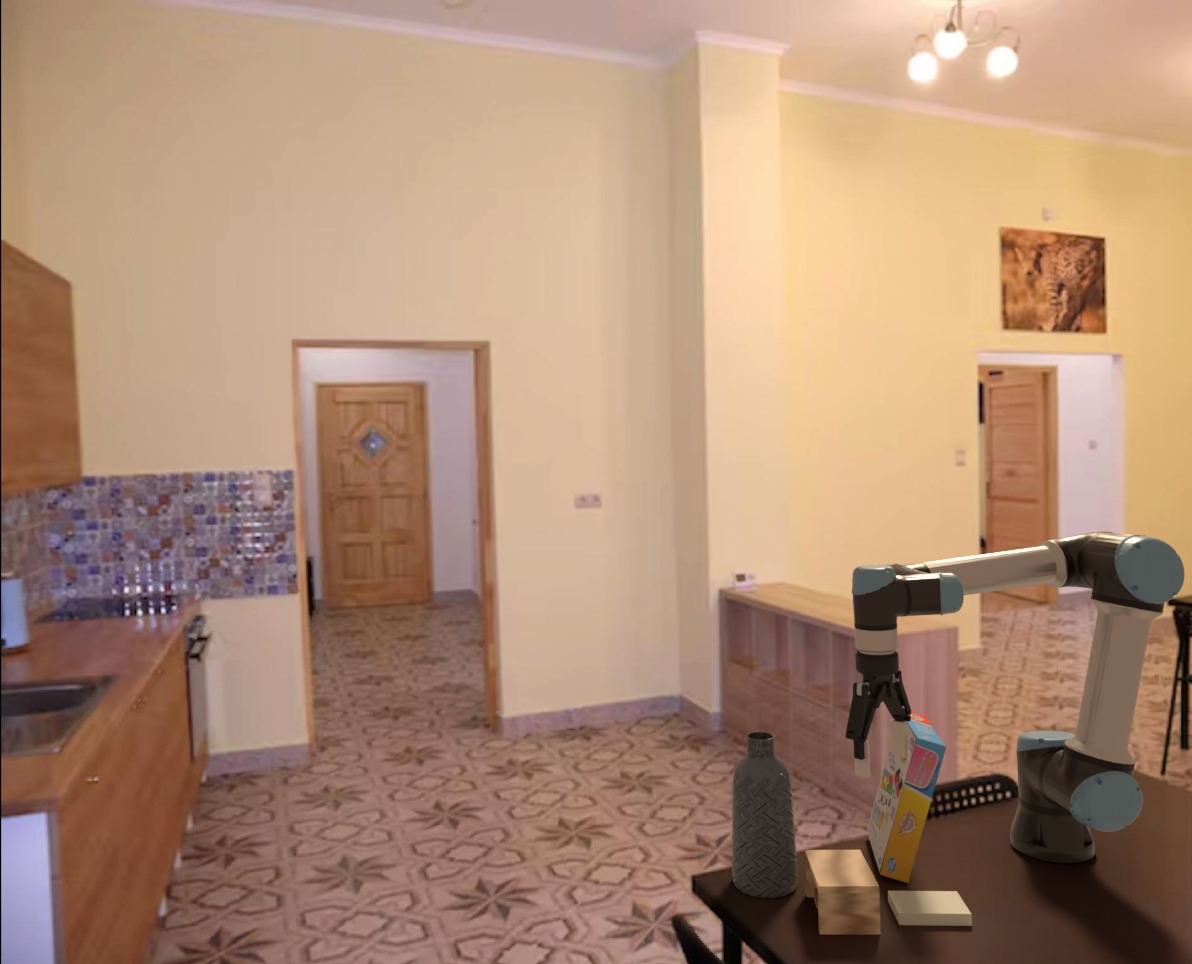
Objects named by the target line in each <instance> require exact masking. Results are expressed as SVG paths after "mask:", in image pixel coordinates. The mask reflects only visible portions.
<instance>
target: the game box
mask: <svg viewBox="0 0 1192 964" xmlns="http://www.w3.org/2000/svg"><path fill="white" fill-rule="evenodd" d="M909 716H911V720H910V722H909V721H905V728H906V751H907V757H900V756H895V755H891V742H889V747H888V750H887V754H886V758H885V761H884V766H883V769H882V773H881V776H880V780H879V784H878V785H877V786H878V788H877V790H876V794H875V797H874V802H873V805H872V808H871V813H870V817H869V820H868V822H867V823H868V824H867V828H866V832H867V836H868V839H869V842H870V846H871V849H872V852H873V857H874V860H875V862H876V865H877V868H878V872H879V874H880V875H881V876H883V877H886V878H889V879H892V880H894V881H898V882H899V881H900V882H902V883H906V884H908V883H909V881H910V878H911V874H912V870H913V867H914V862H915V859H916V855H917V852H918V850H919V845H920V841H921V837H922V836H923V831H924V828H925V825H926V822H927V821H926V820H927V818H928V814H929V810H930V807H931V803H932V800H933V795H934V791H935V789H936V785H937V783H938V782H937V781H938V778H939V775H940V771H941V767H942V763H943V761H944V756H945V754H946V750H947V746H946V745H945V743H944V742H943V740H942V738H941V737H940V736H939V734H938V733H937V731H936V730H935V728H934V727H933V726H932V724H931V722H930V721H929V719H928V718H927V716H926V715H923V714H919V713H918V712H913V711H911V715H909Z"/></svg>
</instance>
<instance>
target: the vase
mask: <svg viewBox="0 0 1192 964" xmlns="http://www.w3.org/2000/svg"><path fill="white" fill-rule="evenodd" d="M731 786H732V787H731V788H732V792H731V796H732V797H731V799H732V800H731V801H732V802H731V803H732V807H731V809H732V811H731V813H732V817H731V819H732V820H731V821H732V823H731V825H732V826H731V827H732V831H731V832H732V833H731V838H732V839H731V841H732V842H731V843H732V844H731V853H732V854H731V859H732V860H731V863H732V865H731V869H732V870H731V874H732V882H733V885H734V886H735V888H736V889H737V890H739V892H742V893H743V894H746V895H749V896H751V897H755V898H764V899H773V898H774V899H775V898H780V897H786V896H787V895H790V894H792V893H793V892H794V891H796V889H797V886H798V882H799V879H798V878H799V875H798V873H799V872H798V863H797V862H798V861H797V860H798V859H797V845H796V833H795V831H796V830H795V818H794V816H795V815H794V805H793V804H794V801H793V790H792V789H793V788H792V787H793V786H792V780H791V775H790V772H789V769H788V767H787V766H786V764H785V763H784V761H782V759H781V758H779V757H778V756H777V755H776V754H775V736H774V734H772V733H769V732H766V731H765V732H764V731H754V732H749V733H748V734H746V754H745V755H744V756H742V758H741V759H739V760H738V762H737V764H736V765H735V768H734V771H733V776H732V785H731Z"/></svg>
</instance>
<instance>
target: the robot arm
mask: <svg viewBox="0 0 1192 964" xmlns="http://www.w3.org/2000/svg"><path fill="white" fill-rule="evenodd" d="M1184 566H1185V565H1184V563H1183V561H1182V559H1181V557H1180V555H1179V554H1178V553H1177V551H1176V550H1175V548H1173V546H1171V545H1170V544H1169V543H1167V542H1166V541H1164V540H1161V539H1158V538H1154V537H1151V536H1147V535H1142V534H1128V533H1120V532H1118V533H1117V532H1113V531H1112V532H1111V531H1093V532H1086V533H1081V534H1076V535H1070V536H1066V537H1060V538H1055V539H1048V540H1044V541H1042V542H1041V544H1040V545H1039V546H1034V547H1033V546H1032V547H1026V548H1019V549H1012V550H1006V551H1004V550H1003V551H997V552H996V551H995V552H991V553H990V552H989V553H983V554H975V555H974V554H973V555H969V556H961V557H960V556H959V557H953V558H946V559H939V560H932V561H931V560H930V561H924V562H919V563H917V562H915V563H910V564H909V563H908V564H902V565H901V564H899V563H889V564H867V565H866V564H865V565H858V566H856V567H855V568H854V569H853V571H852V581H851V582H852V584H851V585H852V587H851V594H852V604H853V605H852V607H853V620H854V622H853V626H854V631H853V635H854V643H855V644H854V645H855V646H854V647H855V649H857V650H856V651H855V657H854V658H855V670H856V671H857V672H858V673H860V674H861V675H862V682H861V683H859V682H853V684H852V699H851V703H850V709H849V713H848V714H849V715H848V719H847V725H846V730H845V738H846V739H848V740H852V741H853V758H854V759H853V760H854V776H858V777H863V778H867V779H870V778H871V777H872V773H871V772H872V771H871V769H872V768H871V767H872V766H871V750H870V749H871V748H870V746H871V745H870V740H868V739H867V738H868V735H869V733H870V729H871V726H872V723H873V719H874V716H875V713H876V709H878V708H880V705H881V703H883V704H884V705H885V707H886V709H887V711H888V713H889V714H890V716H891V717H892V719H890V720H889V731H890V732H889V733H890V743H891V755H895V756H900V757H907V751H906V728H905V721H909V722H910V720H911V716H909V715H911V712H912V709H911V705H910V703H909V699H908V695H907V693H906V690H905V689H906V688H905V686H904V683H903V676H902V675H903V674H902V671H901V670H900V665H899V663H900V662H899V661H900V660H899V659H900V658H899V653H898V652H897V650H898V649H899V640H898V617H901V618H902V617H904V618H905V617H915V616H933V615H934V616H937V615H938V616H939V615H940V616H943V615H948V614H955V613H958V612H959V611H960V610H962V608H963V604H964V601H965V597H964V596H968V595H969V596H971V595H977V594H978V595H979V594H984V593H991V592H992V593H993V592H999V591H1005V590H1012V589H1013V590H1014V589H1021V588H1028V587H1036V586H1042V585H1043V586H1044V585H1048V586H1049V587H1051V588H1054V589H1058V588H1059V589H1060V588H1067V587H1068V588H1069V587H1071V588H1072V587H1074V588H1083V589H1084V588H1085V589H1091V590H1092V591H1091V596H1090V601H1091V603H1092V604H1093V605H1094V607H1095V608H1096V610H1097V615H1096V621H1095V626H1094V631H1093V636H1092V642H1091V647H1090V654H1089V658H1088V664H1087V670H1086V675H1085V680H1084V687H1083V689H1082V690H1083V692H1082V697H1081V702H1080V709H1079V712H1078V713H1079V714H1078V719H1077V723H1076V724H1077V725H1076V729H1075V733H1073V732H1067V731H1058V730H1057V731H1056V730H1033V731H1026V732H1023V733H1021V734H1020V735H1018V737H1017V742H1016V750H1015V751H1016V752H1015V753H1016V754H1017V755H1016V759H1017V762H1016V763H1017V764H1016V766H1017V784H1018V785H1017V788H1018V789H1017V791H1018V806H1017V809H1016V812H1015V815H1014V818H1013V820H1012V822H1011V827H1010V829H1009V830H1010V831H1009V836H1010V837H1009V839H1010V841H1009V842H1010V844H1011V847H1013V849H1015V850H1016V851H1018V853H1019V852H1020V853H1021V854H1023V855H1025V856H1028V857H1030V858H1033V859H1037V860H1041V861H1045V862H1050V863H1057V864H1058V863H1059V864H1077V863H1079V864H1080V863H1085V862H1087V861H1090V860H1092V859H1093V858H1094V856H1095V853H1096V852H1095V851H1096V849H1095V840H1094V838H1093V836H1092V832H1091V830H1090V828H1091V829H1092V830H1093V829H1094V830H1096V831H1099V832H1103V833H1104V832H1106V833H1111V832H1117V831H1120V830H1123V829H1124V828H1125V827H1126V826H1128V825H1132V824H1133V822H1135V820H1136V819H1137V818H1138V817H1139V815H1140V814H1141V812H1142V808H1143V804H1144V793H1143V791H1142V787H1140V784H1139V783H1138V781H1137V780H1136V779H1135V778H1134V777H1133V776H1134V770H1135V765H1136V759H1135V758H1134V756H1133V755H1132V754H1131V753H1130V751H1129V744H1130V739H1131V733H1132V727H1133V722H1134V717H1135V711H1136V707H1137V706H1136V705H1137V702H1138V701H1137V700H1138V694H1139V689H1140V684H1141V679H1142V673H1143V668H1144V663H1145V655H1146V651H1147V647H1148V646H1147V645H1148V639H1149V635H1150V629H1151V623H1152V622H1153V621H1154V620H1155V619H1157V618H1158V617H1160V616H1162V615H1163V614H1164V613H1163V612H1164V606H1165V603H1167V602H1169V601H1171V600H1173V599H1174V596H1177V595H1178V594H1179V593H1180V592H1181V589H1182V587H1183V586H1184V584H1185V583H1184V582H1185V567H1184Z"/></svg>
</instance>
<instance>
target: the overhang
mask: <svg viewBox="0 0 1192 964" xmlns="http://www.w3.org/2000/svg"><path fill="white" fill-rule="evenodd" d="M804 867H805V868H804V870H805V871H804V873H805V894H806V897H807V898H813V899H814V901H813V902H814V904H815V907H816V909H817V913H818V914H817V915H818V916H817V917H818V919H817V920H818V933H819V935H824V936H825V935H833V936H834V935H845V936H847V935H859V936H861V935H867V936H868V935H869V936H872V935H881V934H882V933H881V930H882V929H881V901H880V900H881V899H880V885H879V883H878V881H877V879H876V877H875V875H874V874H873V871H872V869H871V868H870V865H869V864H868V862H867V861H866V858H865V857H864V855H863V853H862V851H861V849H804Z"/></svg>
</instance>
